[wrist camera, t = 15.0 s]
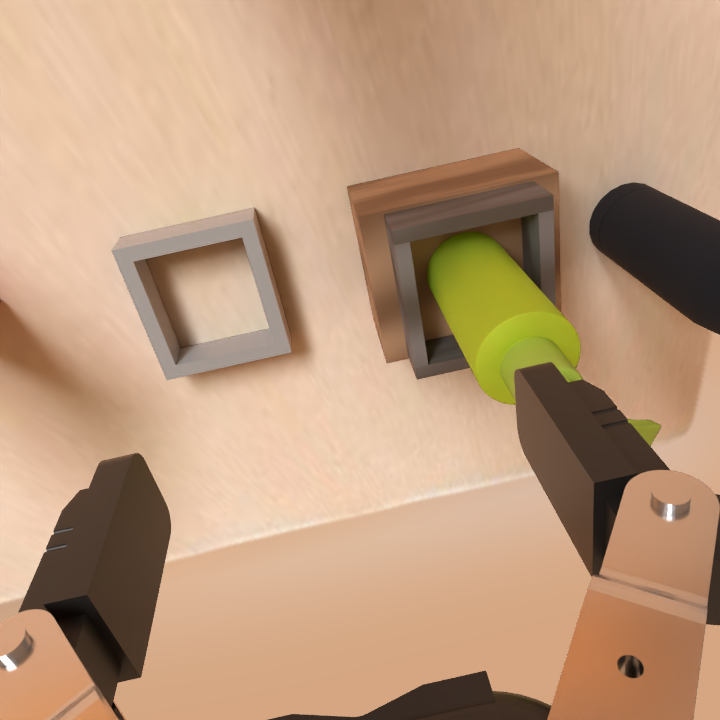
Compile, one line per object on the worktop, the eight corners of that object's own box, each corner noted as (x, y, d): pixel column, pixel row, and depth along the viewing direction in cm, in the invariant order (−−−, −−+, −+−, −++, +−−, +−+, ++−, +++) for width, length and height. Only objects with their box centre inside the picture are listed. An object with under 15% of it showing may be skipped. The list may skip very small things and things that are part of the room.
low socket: (120, 237, 48) (111, 250, 46) (254, 207, 48) (253, 219, 46) (172, 362, 54) (166, 380, 52) (291, 336, 54) (291, 352, 52)
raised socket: (346, 186, 48) (364, 232, 38) (518, 148, 48) (580, 184, 38) (373, 318, 54) (394, 387, 44) (525, 284, 54) (580, 345, 44)
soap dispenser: (503, 314, 46) (631, 495, 29) (417, 300, 45) (499, 481, 28) (530, 241, 44) (689, 395, 26) (439, 224, 42) (545, 374, 25)
